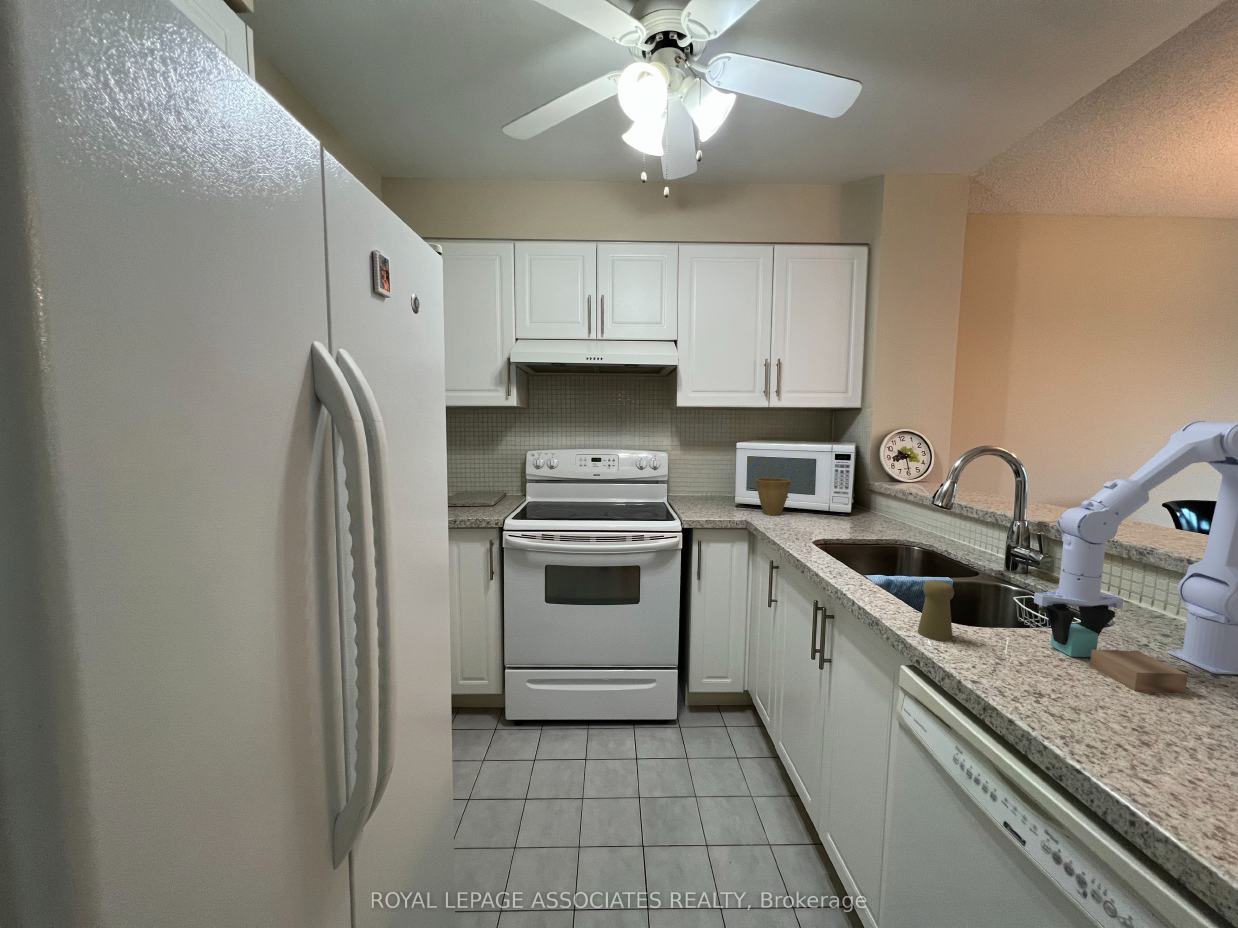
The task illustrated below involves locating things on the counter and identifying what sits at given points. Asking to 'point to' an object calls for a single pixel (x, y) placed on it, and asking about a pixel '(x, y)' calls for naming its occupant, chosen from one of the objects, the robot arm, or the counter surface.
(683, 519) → the counter surface
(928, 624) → the cork
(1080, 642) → the teal cube
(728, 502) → the counter surface
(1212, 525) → the robot arm
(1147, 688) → the walnut block
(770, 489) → the plant pot
